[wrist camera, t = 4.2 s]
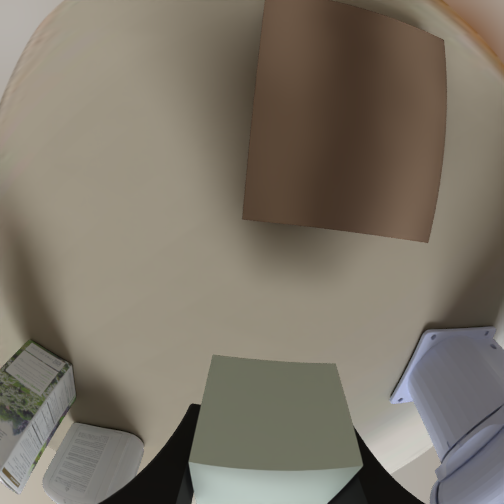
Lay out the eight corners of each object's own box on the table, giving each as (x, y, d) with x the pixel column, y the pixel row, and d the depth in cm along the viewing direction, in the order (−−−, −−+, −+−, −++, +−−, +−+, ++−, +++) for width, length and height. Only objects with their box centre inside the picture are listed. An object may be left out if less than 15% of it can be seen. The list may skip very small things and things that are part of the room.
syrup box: (37, 373, 22) (-26, 460, 8) (29, 335, 20) (-53, 429, 6) (77, 397, 22) (20, 498, 9) (73, 361, 20) (-4, 477, 7)
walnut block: (420, 52, 12) (443, 40, 9) (404, 228, 16) (428, 242, 13) (265, 15, 12) (266, -9, 9) (246, 207, 16) (242, 219, 13)
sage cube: (335, 363, 11) (363, 465, 6) (308, 430, 12) (317, 512, 8) (212, 354, 11) (188, 461, 6) (211, 424, 12) (197, 507, 8)
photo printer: (87, 438, 26) (54, 507, 14) (69, 418, 24) (30, 489, 13) (151, 449, 25) (124, 535, 13) (134, 428, 23) (99, 522, 12)
